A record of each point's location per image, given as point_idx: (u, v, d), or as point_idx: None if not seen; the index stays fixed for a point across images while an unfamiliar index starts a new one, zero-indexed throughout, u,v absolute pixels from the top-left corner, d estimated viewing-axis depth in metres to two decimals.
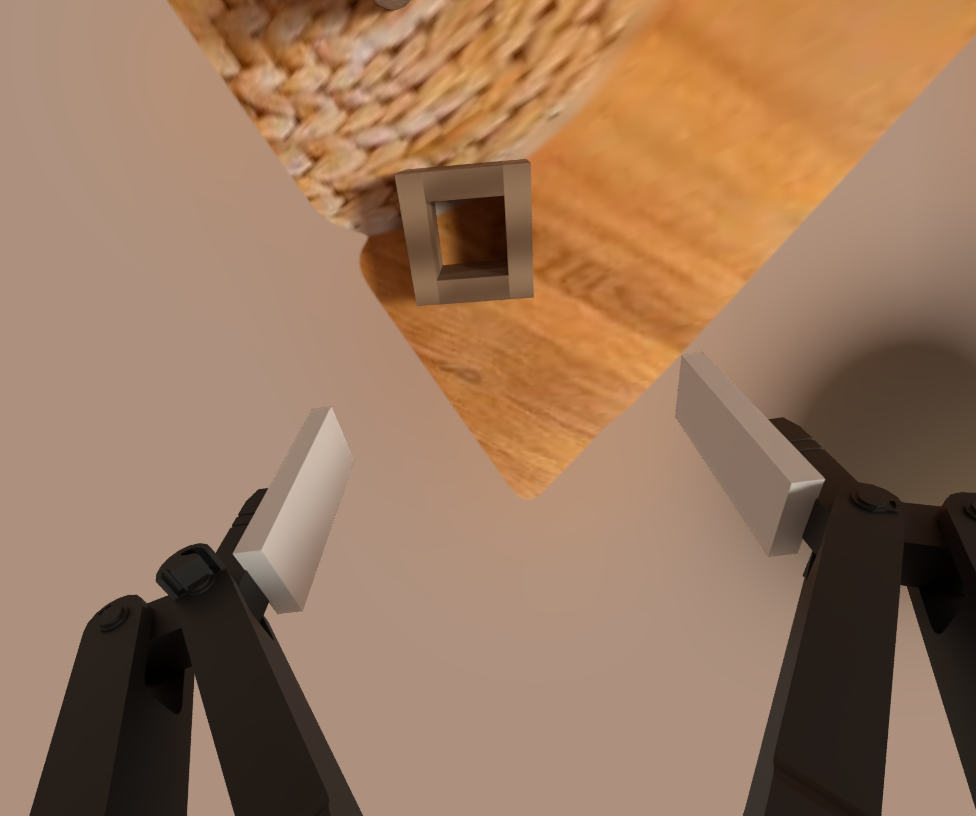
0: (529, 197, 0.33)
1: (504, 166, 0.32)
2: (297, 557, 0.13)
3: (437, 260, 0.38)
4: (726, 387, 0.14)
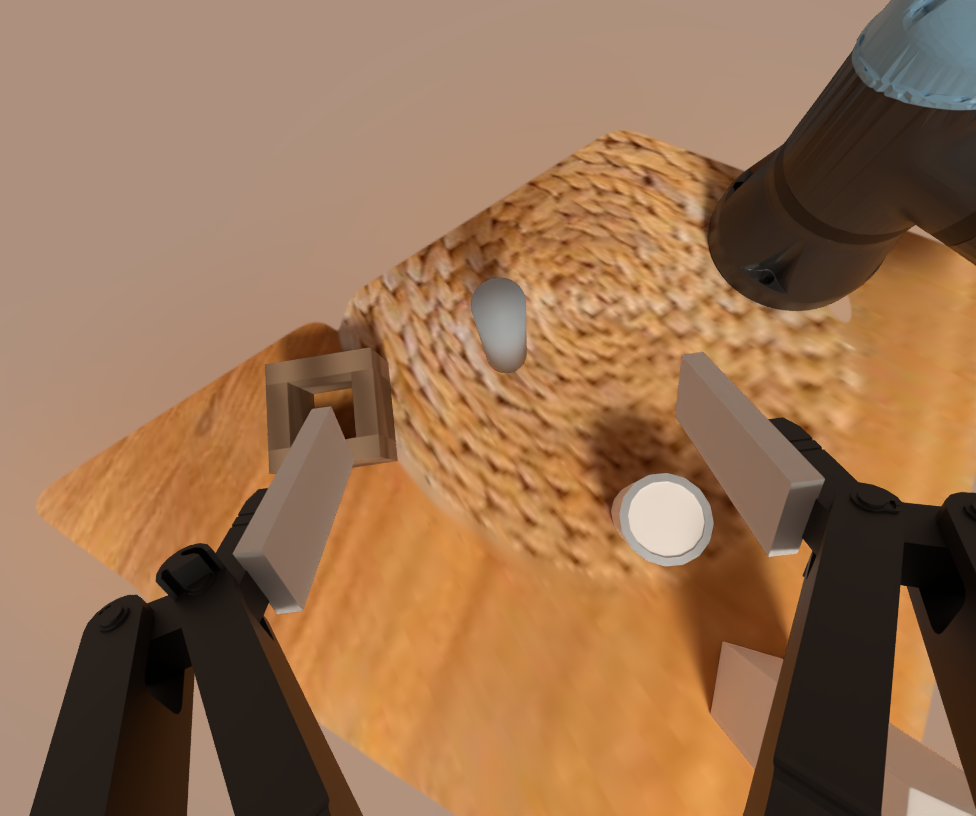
0: (354, 459, 0.38)
1: (377, 435, 0.38)
2: (297, 557, 0.13)
3: (310, 385, 0.42)
4: (726, 387, 0.14)
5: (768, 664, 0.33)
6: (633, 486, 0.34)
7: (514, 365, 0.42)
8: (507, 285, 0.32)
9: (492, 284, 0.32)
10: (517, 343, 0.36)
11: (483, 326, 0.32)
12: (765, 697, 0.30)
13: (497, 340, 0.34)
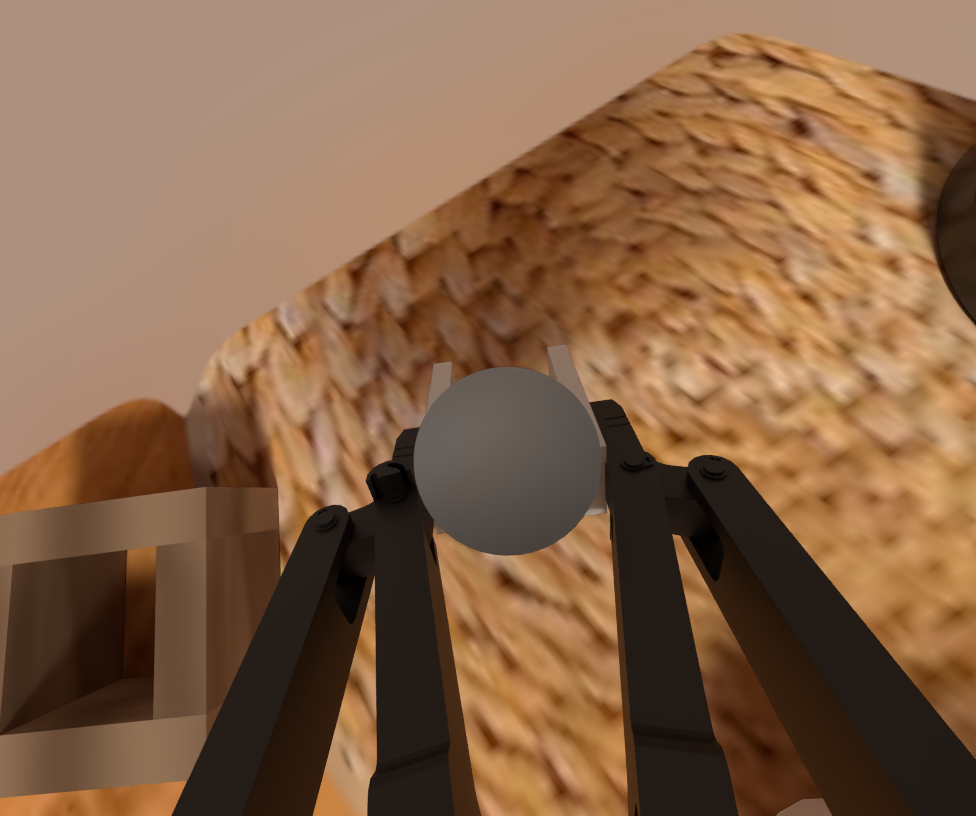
0: (143, 780, 0.15)
1: (203, 718, 0.16)
2: None
3: None
4: (569, 373, 0.16)
5: None
6: None
7: None
8: (536, 392, 0.10)
9: (486, 389, 0.10)
10: None
11: None
12: None
13: None
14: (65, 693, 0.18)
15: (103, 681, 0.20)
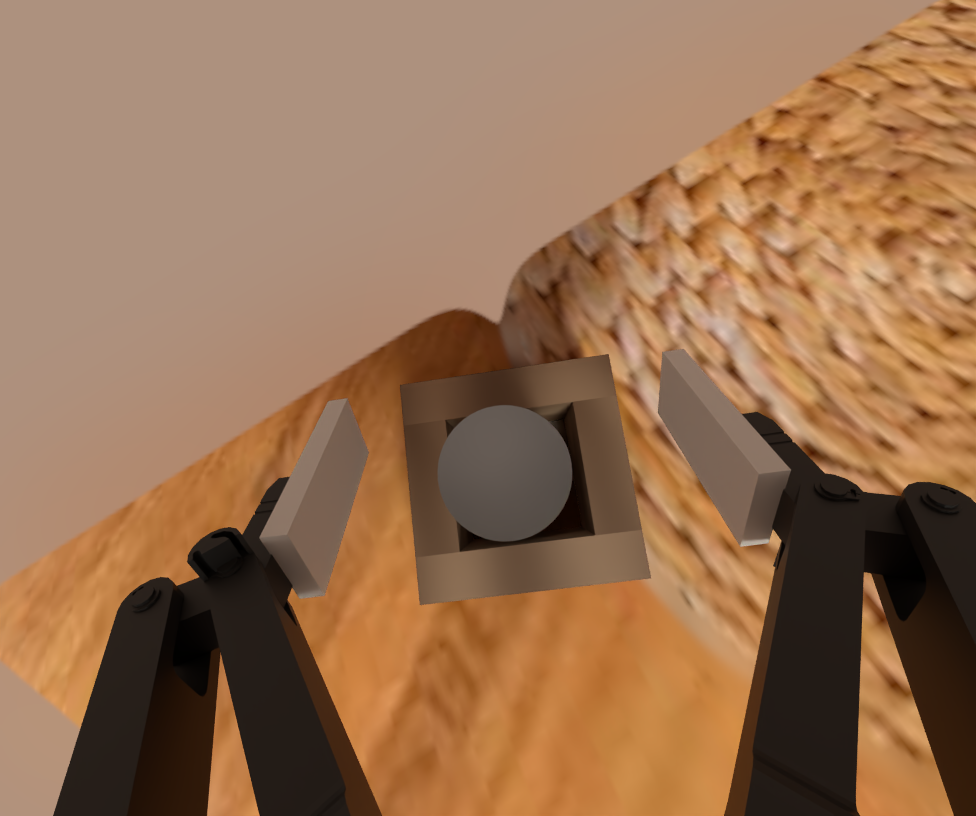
0: (596, 581, 0.19)
1: (640, 532, 0.19)
2: (319, 543, 0.13)
3: None
4: (703, 383, 0.14)
5: None
6: None
7: None
8: (525, 424, 0.13)
9: (490, 421, 0.13)
10: None
11: None
12: None
13: None
14: (465, 536, 0.22)
15: (470, 537, 0.24)
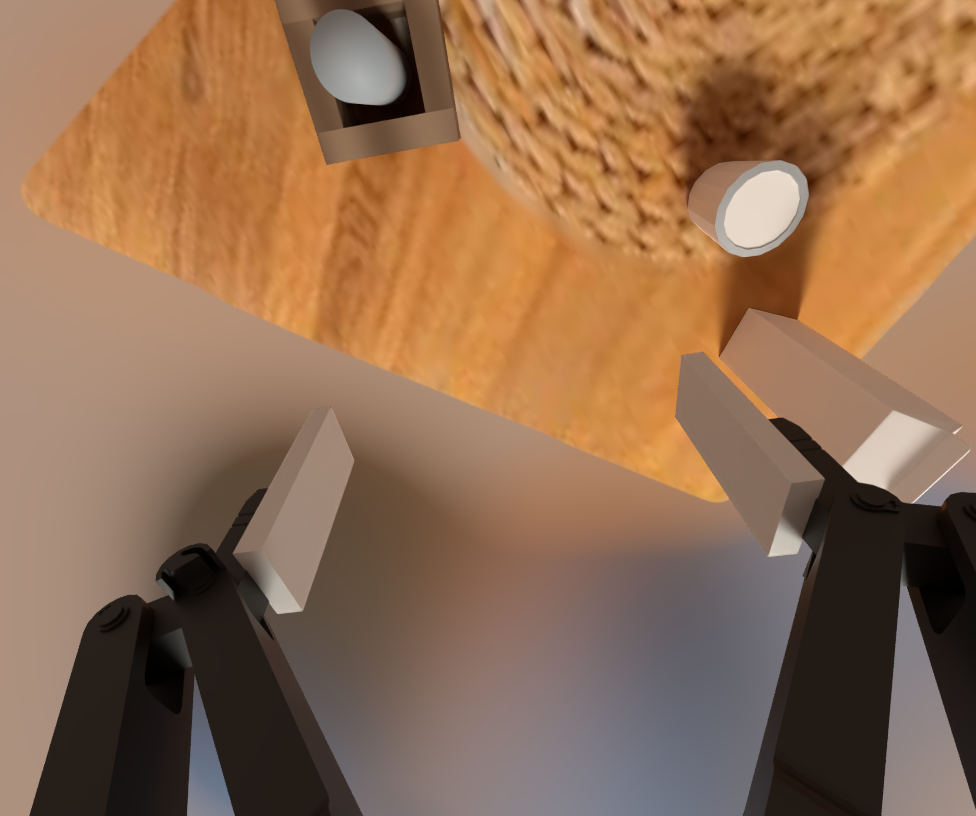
0: (427, 144, 0.32)
1: (452, 110, 0.31)
2: (297, 557, 0.13)
3: None
4: (726, 387, 0.14)
5: (785, 325, 0.42)
6: (741, 177, 0.32)
7: (396, 102, 0.33)
8: (355, 24, 0.23)
9: (334, 22, 0.23)
10: (388, 96, 0.29)
11: None
12: (782, 351, 0.40)
13: None
14: (349, 120, 0.33)
15: (355, 123, 0.35)
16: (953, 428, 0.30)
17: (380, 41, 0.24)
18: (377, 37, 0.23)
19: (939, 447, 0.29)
